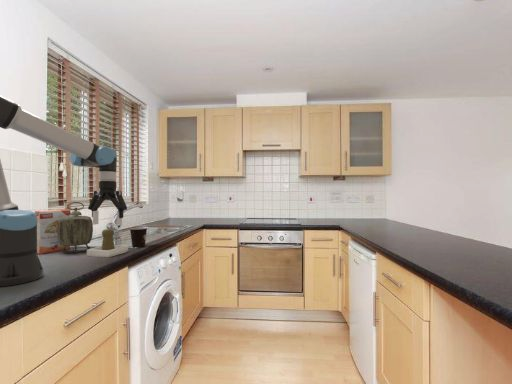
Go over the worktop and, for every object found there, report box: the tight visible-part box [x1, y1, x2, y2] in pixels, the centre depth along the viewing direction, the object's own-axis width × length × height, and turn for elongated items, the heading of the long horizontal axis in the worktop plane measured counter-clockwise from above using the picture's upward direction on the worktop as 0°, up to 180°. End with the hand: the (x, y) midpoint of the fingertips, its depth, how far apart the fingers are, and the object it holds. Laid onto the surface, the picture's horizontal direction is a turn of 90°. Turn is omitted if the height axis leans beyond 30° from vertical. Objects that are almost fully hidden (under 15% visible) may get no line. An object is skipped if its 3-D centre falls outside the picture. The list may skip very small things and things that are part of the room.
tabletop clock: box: [57, 201, 94, 254], centre depth 139 cm, size 14×9×25 cm, turn 118°
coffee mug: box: [129, 226, 148, 249], centre depth 150 cm, size 12×9×10 cm
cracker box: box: [34, 209, 72, 255], centre depth 141 cm, size 14×6×21 cm, turn 150°
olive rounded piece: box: [101, 228, 115, 250], centre depth 134 cm, size 6×6×11 cm
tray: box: [86, 244, 129, 258], centre depth 134 cm, size 13×12×3 cm
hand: (107, 224), depth 134 cm, fingers open, 13 cm apart
